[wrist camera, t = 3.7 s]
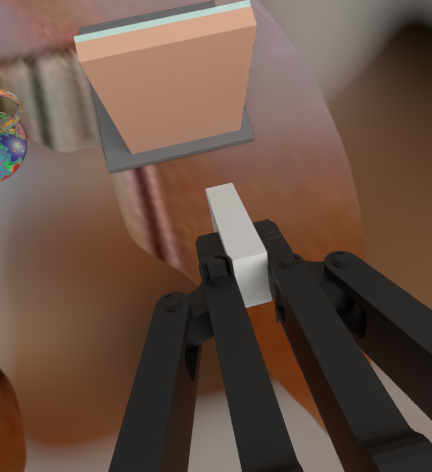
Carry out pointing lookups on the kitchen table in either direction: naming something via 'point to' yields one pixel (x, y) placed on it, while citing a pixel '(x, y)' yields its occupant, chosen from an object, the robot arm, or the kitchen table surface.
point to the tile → (173, 74)
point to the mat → (125, 160)
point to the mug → (11, 138)
